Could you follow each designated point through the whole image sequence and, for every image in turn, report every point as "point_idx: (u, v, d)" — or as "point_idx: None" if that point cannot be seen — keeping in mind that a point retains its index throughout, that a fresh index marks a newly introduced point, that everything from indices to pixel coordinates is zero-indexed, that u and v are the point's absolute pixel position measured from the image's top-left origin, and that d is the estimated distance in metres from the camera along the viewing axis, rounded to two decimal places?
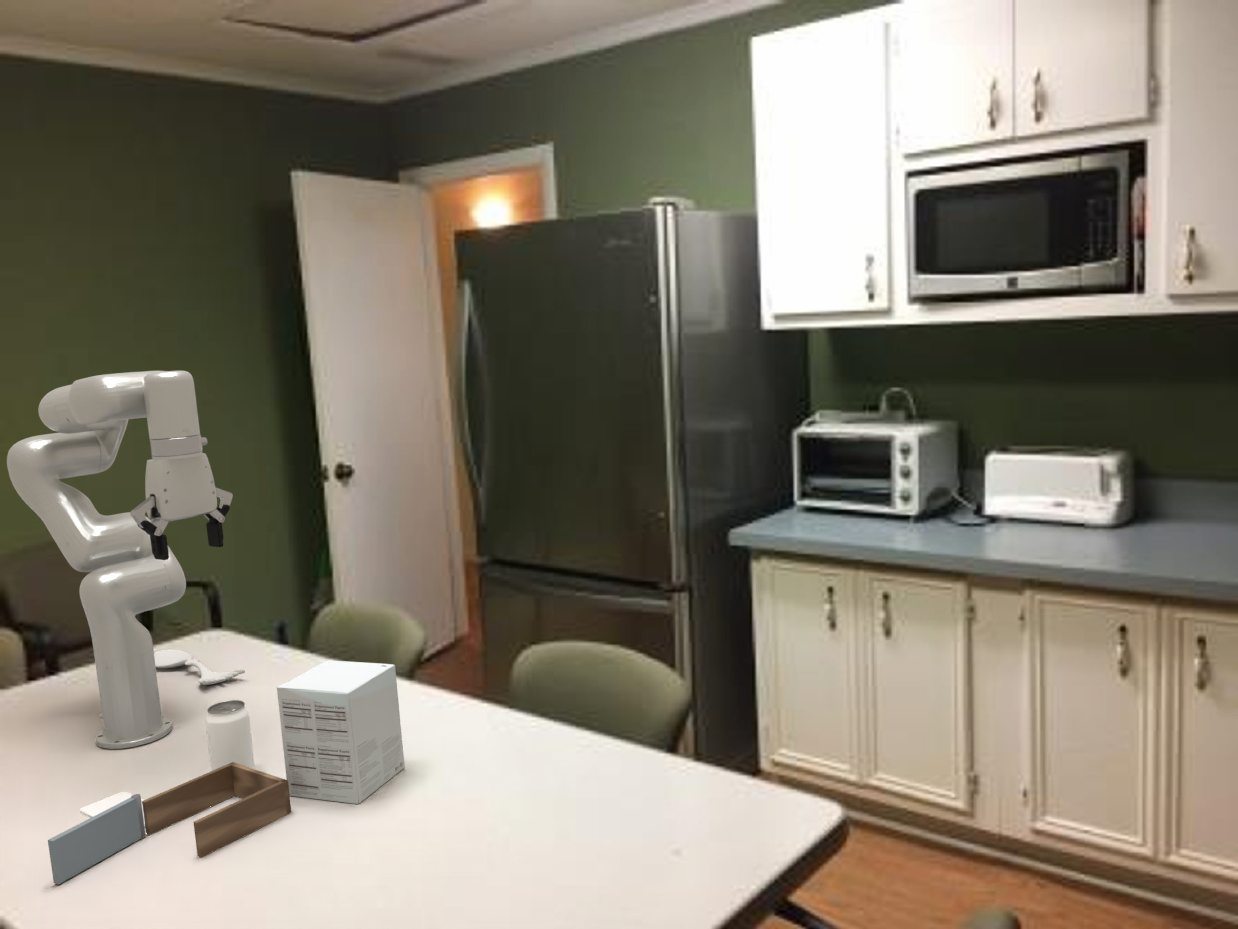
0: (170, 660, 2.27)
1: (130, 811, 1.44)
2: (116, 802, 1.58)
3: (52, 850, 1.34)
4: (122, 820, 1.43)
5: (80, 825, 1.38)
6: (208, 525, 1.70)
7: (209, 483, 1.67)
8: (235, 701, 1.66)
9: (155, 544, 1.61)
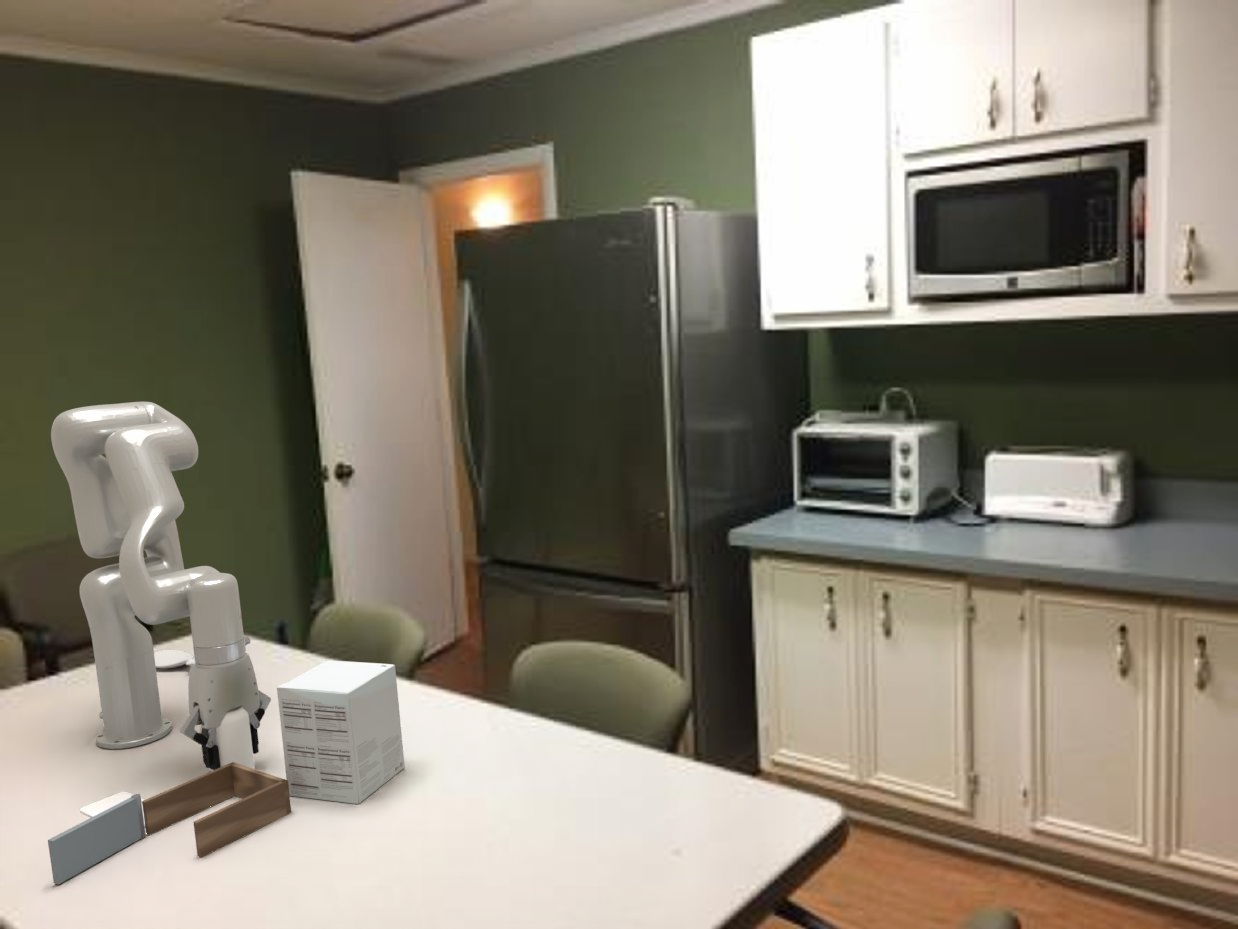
0: (170, 660, 2.27)
1: (130, 811, 1.44)
2: (116, 802, 1.58)
3: (52, 850, 1.34)
4: (122, 820, 1.43)
5: (80, 825, 1.38)
6: None
7: (252, 685, 1.65)
8: None
9: (207, 755, 1.60)
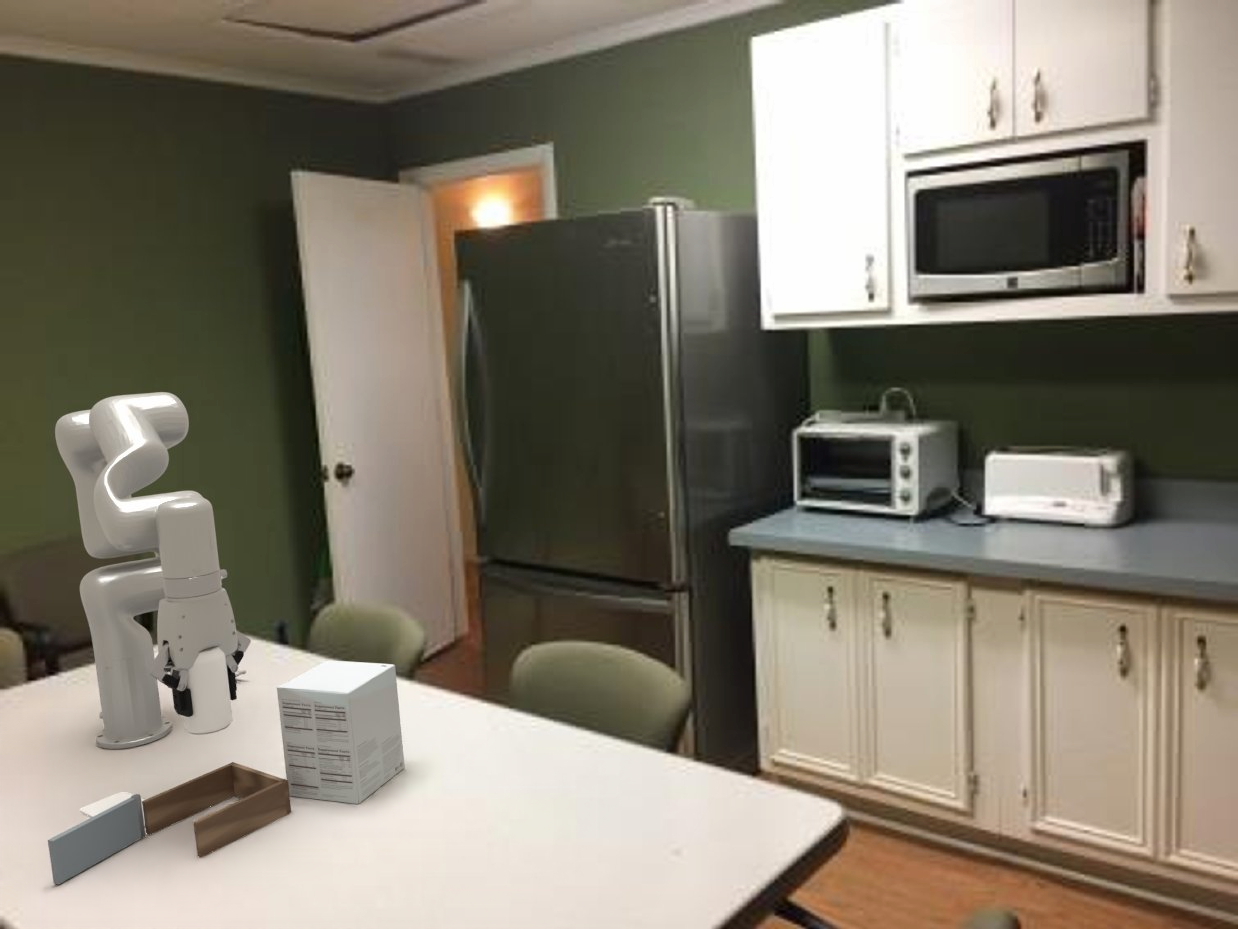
0: None
1: (130, 811, 1.44)
2: (116, 802, 1.58)
3: (52, 850, 1.34)
4: (122, 820, 1.43)
5: (80, 825, 1.38)
6: None
7: (229, 623, 1.48)
8: None
9: (178, 700, 1.43)
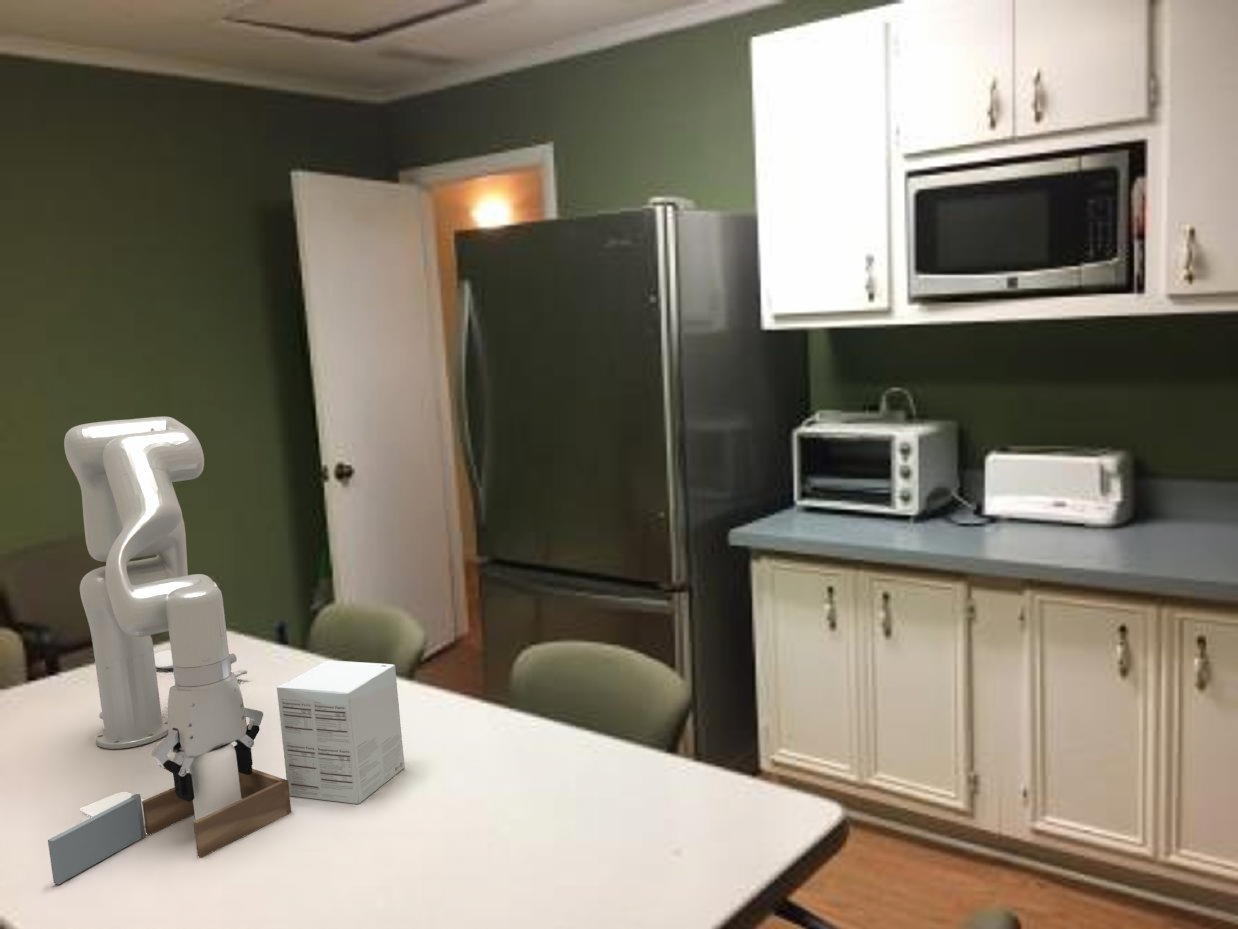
0: None
1: (130, 811, 1.44)
2: (116, 802, 1.58)
3: (52, 850, 1.34)
4: (122, 820, 1.43)
5: (80, 825, 1.38)
6: (236, 750, 1.52)
7: (238, 707, 1.49)
8: None
9: (179, 785, 1.43)
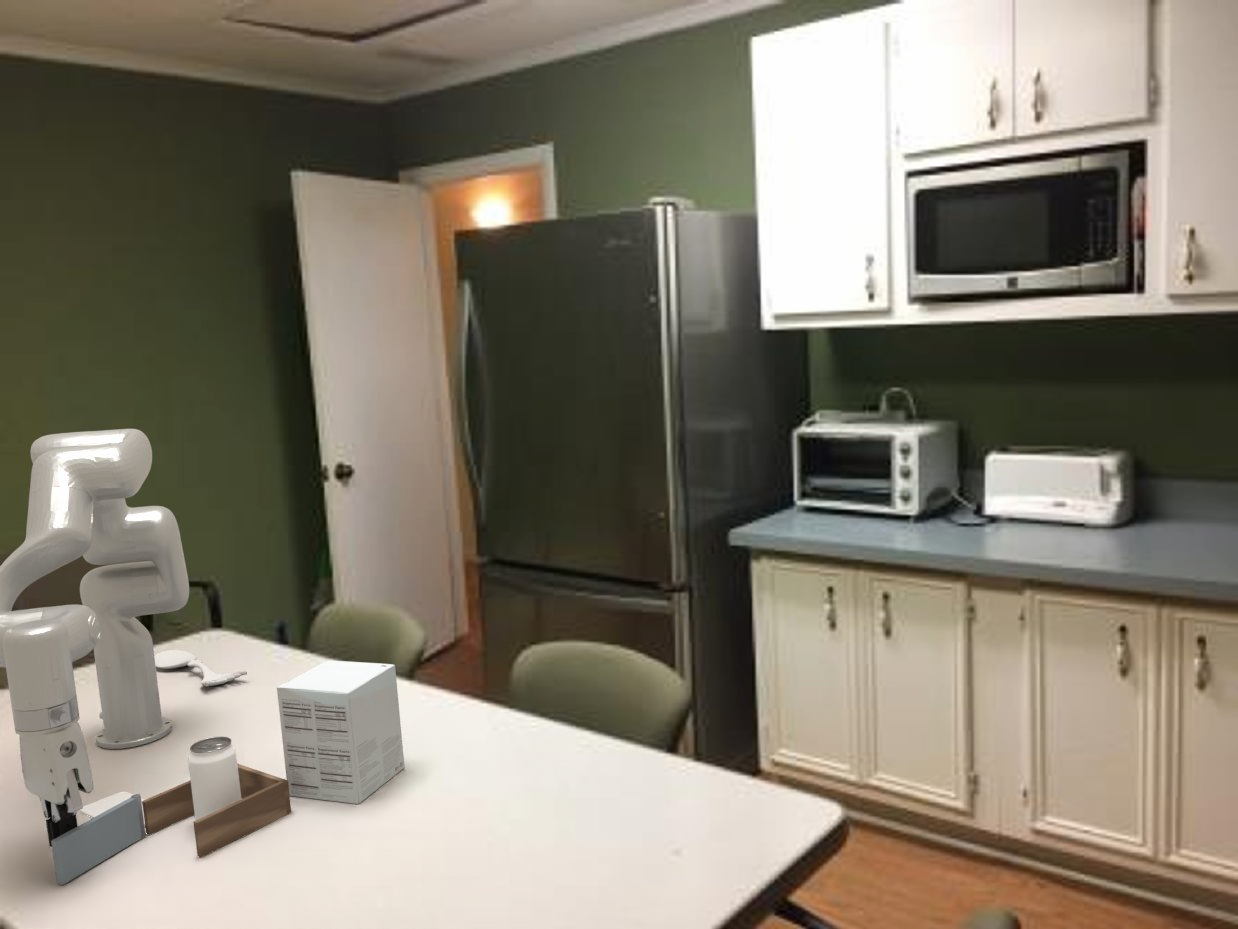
0: (174, 661, 2.26)
1: (131, 811, 1.44)
2: (116, 801, 1.58)
3: (56, 851, 1.34)
4: (123, 820, 1.43)
5: (82, 825, 1.37)
6: None
7: (48, 771, 1.32)
8: (221, 738, 1.51)
9: None
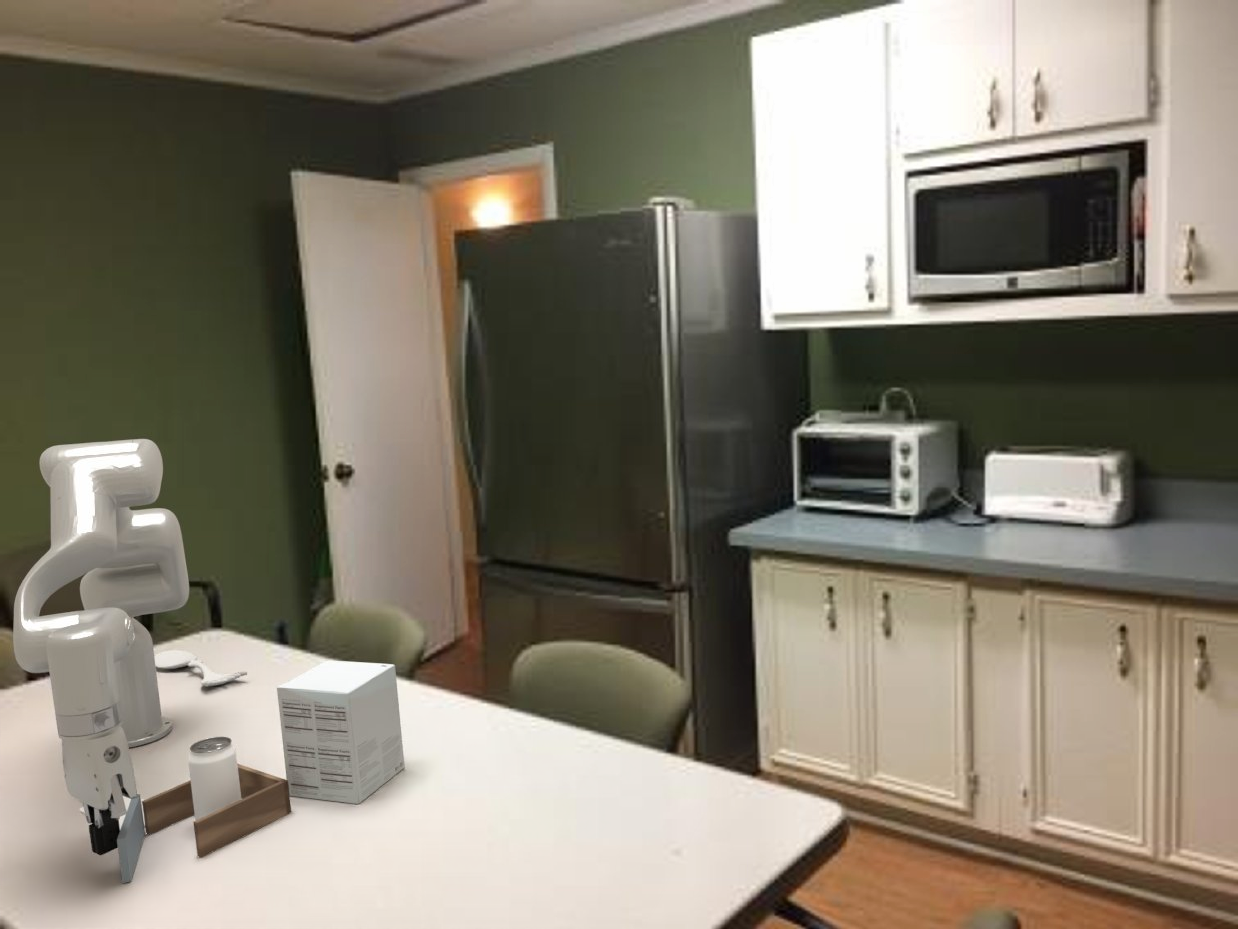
0: (174, 661, 2.26)
1: (139, 810, 1.44)
2: None
3: (123, 848, 1.33)
4: (138, 818, 1.43)
5: (126, 824, 1.37)
6: None
7: (92, 776, 1.31)
8: (221, 738, 1.51)
9: None
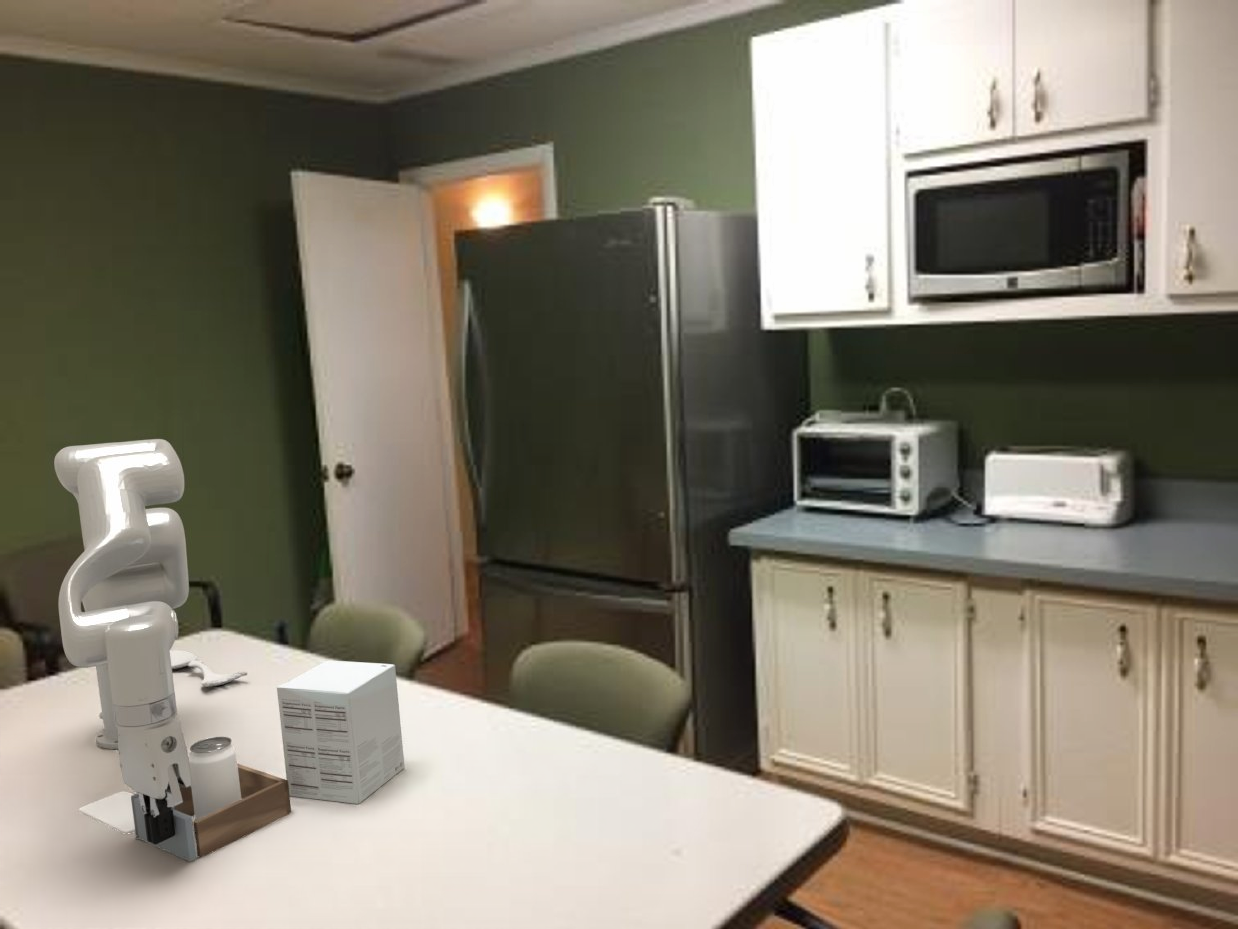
0: (175, 661, 2.26)
1: None
2: (116, 801, 1.58)
3: (190, 826, 1.38)
4: None
5: None
6: None
7: (150, 766, 1.33)
8: (221, 738, 1.51)
9: None
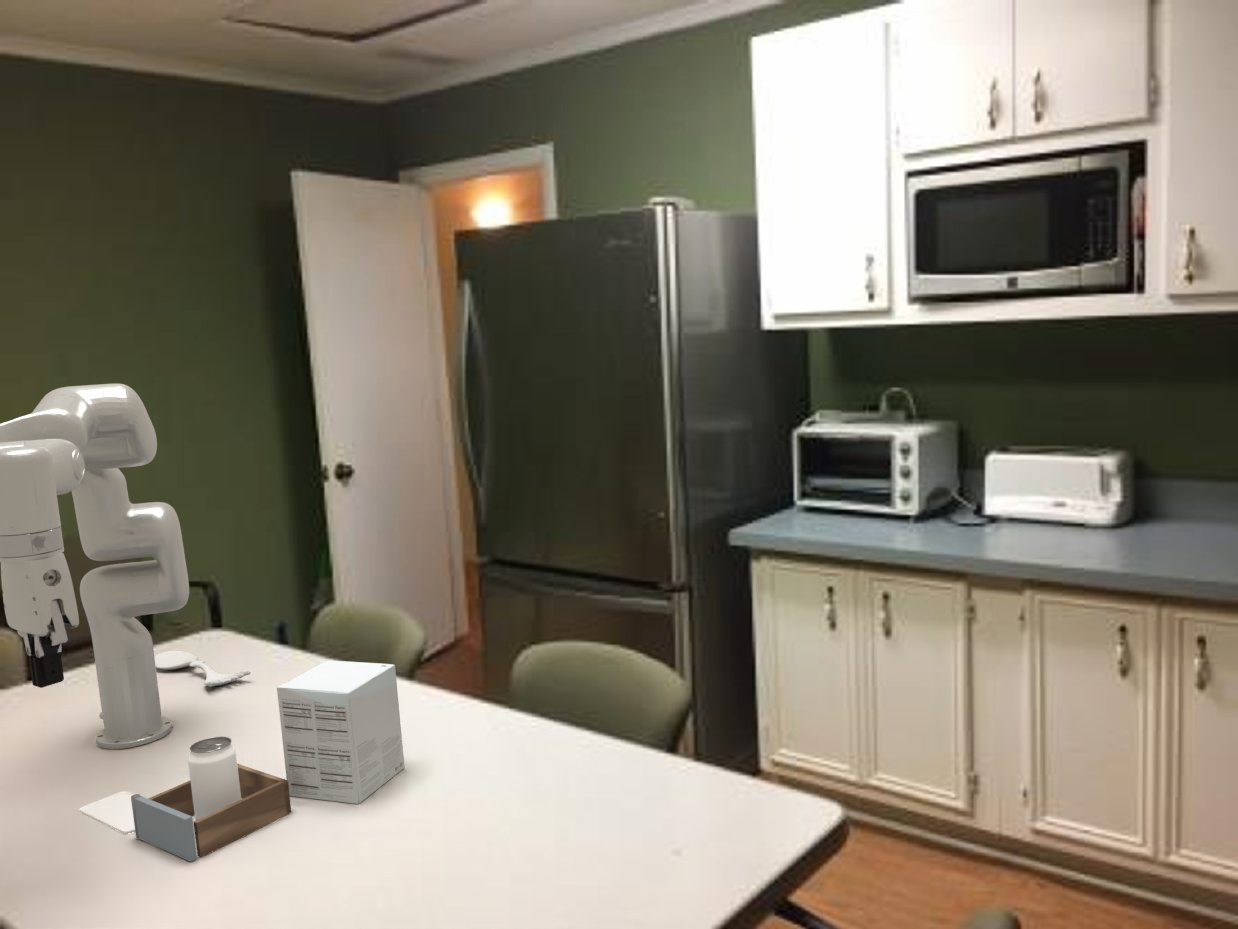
0: (174, 661, 2.26)
1: None
2: (115, 801, 1.58)
3: (191, 826, 1.38)
4: None
5: (171, 810, 1.40)
6: None
7: (31, 599, 1.26)
8: (221, 738, 1.51)
9: None
